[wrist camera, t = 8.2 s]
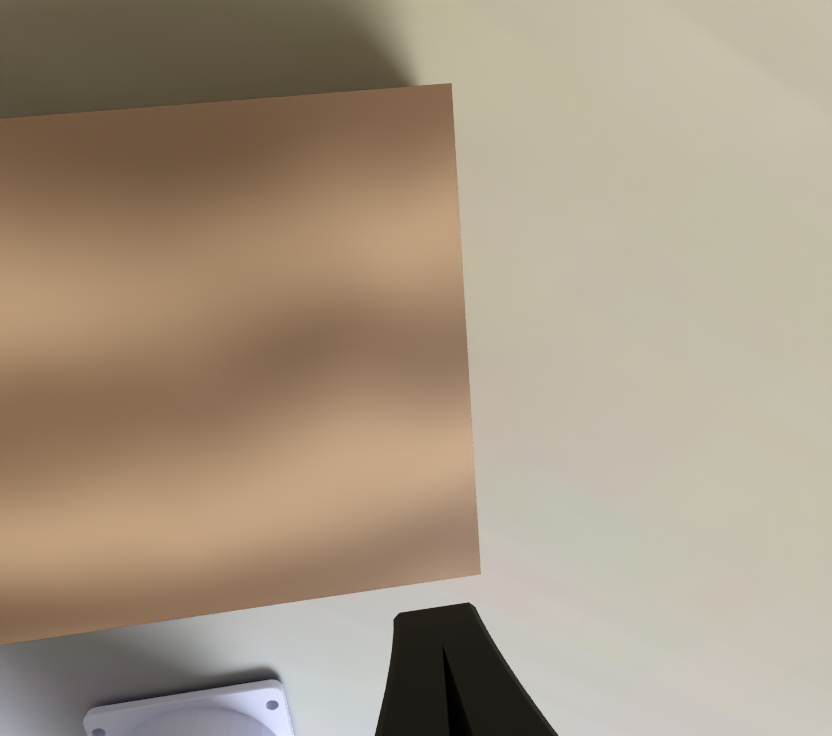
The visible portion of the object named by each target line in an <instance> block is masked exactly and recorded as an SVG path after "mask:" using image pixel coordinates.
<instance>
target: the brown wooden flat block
mask: <svg viewBox="0 0 832 736" xmlns="http://www.w3.org/2000/svg"><path fill="white" fill-rule="evenodd" d="M478 574H481V570H480V553H479V536H478V519H477V503H476V486H475V469H474V452H473V436H472V419H471V402H470V386H469V369H468V352H467V335H466V319H465V302H464V285H463V269H462V252H461V235H460V218H459V202H458V185H457V168H456V151H455V135H454V118H453V101H452V85H451V83H448V84H435V85H422V86H410V87H397V88H384V89H371V90H358V91H346V92H333V93H320V94H307V95H295V96H282V97H269V98H256V99H243V100H231V101H218V102H205V103H192V104H180V105H167V106H154V107H141V108H128V109H116V110H103V111H90V112H77V113H65V114H52V115H39V116H26V117H13V118H1V119H0V645H4V644H11V643H18V642H25V641H32V640H38V639H45V638H52V637H59V636H65V635H72V634H79V633H86V632H92V631H99V630H106V629H113V628H120V627H126V626H133V625H140V624H147V623H153V622H160V621H167V620H174V619H180V618H187V617H194V616H201V615H207V614H214V613H221V612H228V611H235V610H241V609H248V608H255V607H262V606H268V605H275V604H282V603H289V602H295V601H302V600H309V599H316V598H323V597H329V596H336V595H343V594H350V593H356V592H363V591H370V590H377V589H383V588H390V587H397V586H404V585H411V584H417V583H424V582H431V581H438V580H444V579H451V578H458V577H465V576H471V575H478Z"/></svg>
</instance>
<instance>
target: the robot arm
mask: <svg viewBox="0 0 832 736" xmlns="http://www.w3.org/2000/svg"><path fill="white" fill-rule="evenodd" d="M271 700H275V701H271ZM83 726H84V728H85V731H86V733H87V736H294V732H293V727H292V723H291V718H290V714H289V709H288V705H287V700H286V696H285V691H284V687H283V685H282V683H280V682H279V681H277V680H264V681H258V682H252V683H245V684H239V685H233V686H226V687H220V688H214V689H207V690H201V691H195V692H188V693H182V694H176V695H169V696H163V697H157V698H150V699H144V700H138V701H131V702H125V703H119V704H112V705H106V706H100V707H95V708H92V709H90V710H89V711H88V712H87V714H86V716H85V718H84V720H83ZM375 736H558V734H557V733H556V732H555V730H554V729H553V728H552V726H551V725H550V724H549V723H548V721H547V720H546V718H545V717H544V716H543V714H542V713H541V711H540V710H539V709H538V707H537V706H536V704H535V703H534V702H533V700H532V699H531V697H530V696H529V695H528V693H527V692H526V690H525V689H524V688H523V686H522V685H521V683H520V682H519V680H518V679H517V677H516V676H515V674H514V673H513V671H512V670H511V668H510V667H509V665H508V664H507V662H506V660H505V659H504V657H503V656H502V654H501V653H500V651H499V649H498V648H497V646H496V644H495V643H494V641H493V639H492V638H491V636H490V634H489V633H488V631H487V629H486V627H485V625H484V623H483V622H482V620H481V618H480V616H479V614H478V612H477V610H476V607H475V606H473V605H472V604H470V603H469V602H468V603H462V604H455V605H449V606H442V607H435V608H429V609H422V610H415V611H409V612H402V613H399V614H398V615H397V616H396V617H395V618H394V632H393V644H392V653H391V660H390V667H389V672H388V678H387V683H386V689H385V693H384V698H383V702H382V707H381V711H380V715H379V720H378V724H377V728H376V733H375Z"/></svg>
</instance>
